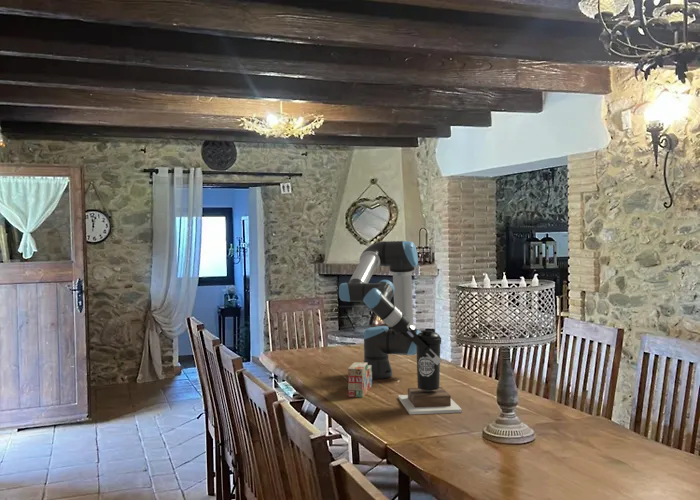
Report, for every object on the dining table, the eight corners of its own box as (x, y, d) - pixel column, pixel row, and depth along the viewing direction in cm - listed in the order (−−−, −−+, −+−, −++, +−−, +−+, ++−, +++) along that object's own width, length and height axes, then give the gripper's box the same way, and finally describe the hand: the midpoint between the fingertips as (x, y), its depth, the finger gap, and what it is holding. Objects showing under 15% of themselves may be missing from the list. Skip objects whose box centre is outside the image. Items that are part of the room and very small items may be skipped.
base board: (398, 398, 261) (398, 395, 261) (445, 396, 263) (445, 393, 263) (409, 414, 237) (409, 411, 237) (461, 412, 239) (461, 409, 239)
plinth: (407, 398, 256) (407, 388, 256) (441, 396, 258) (441, 387, 258) (414, 407, 242) (414, 397, 242) (450, 406, 244) (450, 395, 244)
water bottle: (412, 389, 247) (412, 330, 246) (419, 383, 257) (418, 327, 256) (438, 391, 244) (438, 332, 243) (443, 385, 253) (443, 328, 252)
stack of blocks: (358, 385, 285) (358, 357, 284) (372, 385, 283) (372, 358, 283) (348, 397, 264) (347, 367, 264) (362, 397, 262) (362, 368, 262)
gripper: (385, 323, 259) (423, 361, 261) (394, 332, 237) (436, 373, 239) (397, 310, 259) (436, 348, 261) (408, 317, 237) (450, 358, 239)
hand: (436, 359), depth 250 cm, fingers closed on water bottle, 9 cm apart
